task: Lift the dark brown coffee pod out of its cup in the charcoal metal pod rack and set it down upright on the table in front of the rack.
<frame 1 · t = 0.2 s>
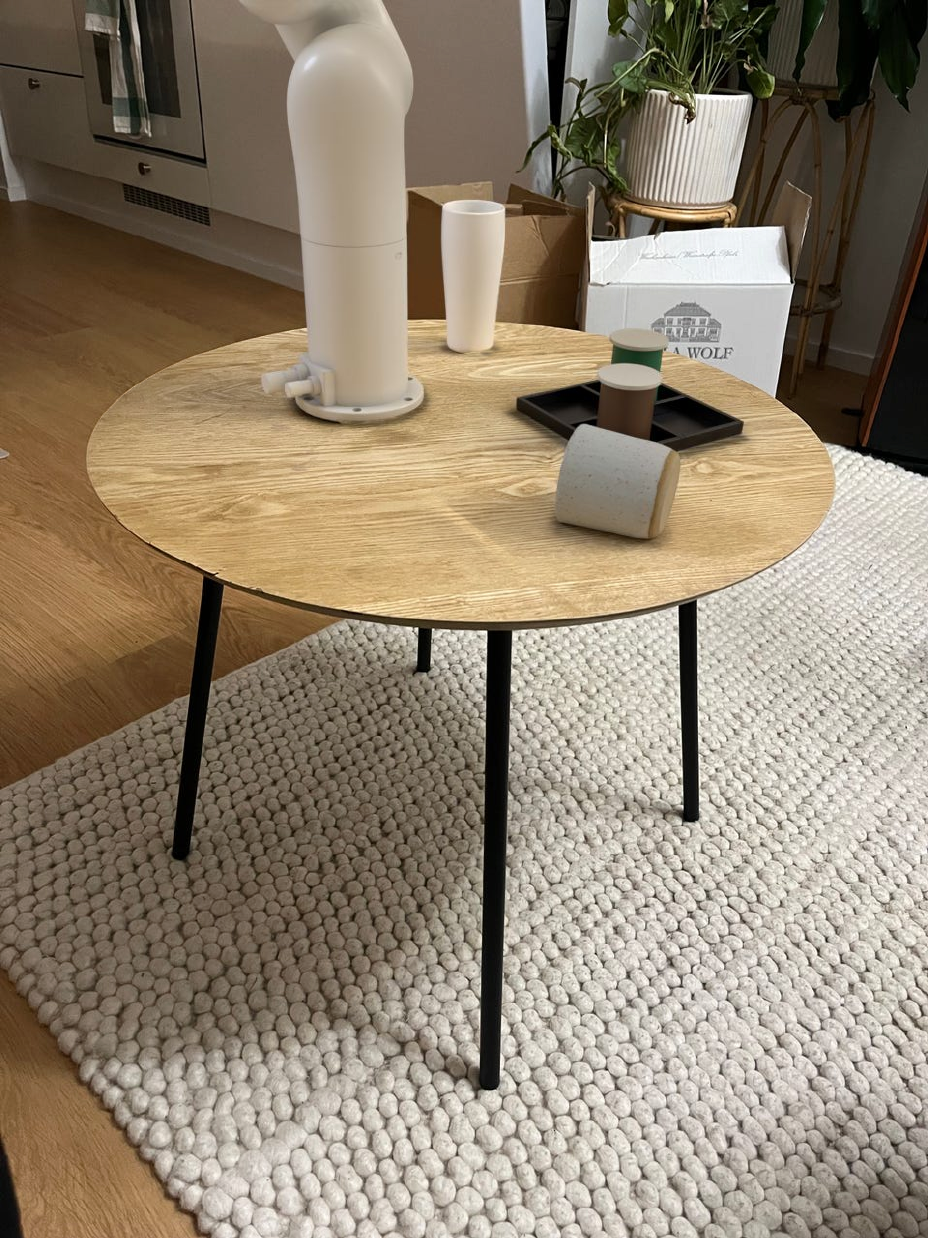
pod: (621, 442, 90), resting on rack
ceramic mug: (613, 521, 79), on the table
drinking glass: (470, 349, 112), on the table
rack: (626, 426, 94), on the table
pod 2: (631, 401, 98), resting on rack
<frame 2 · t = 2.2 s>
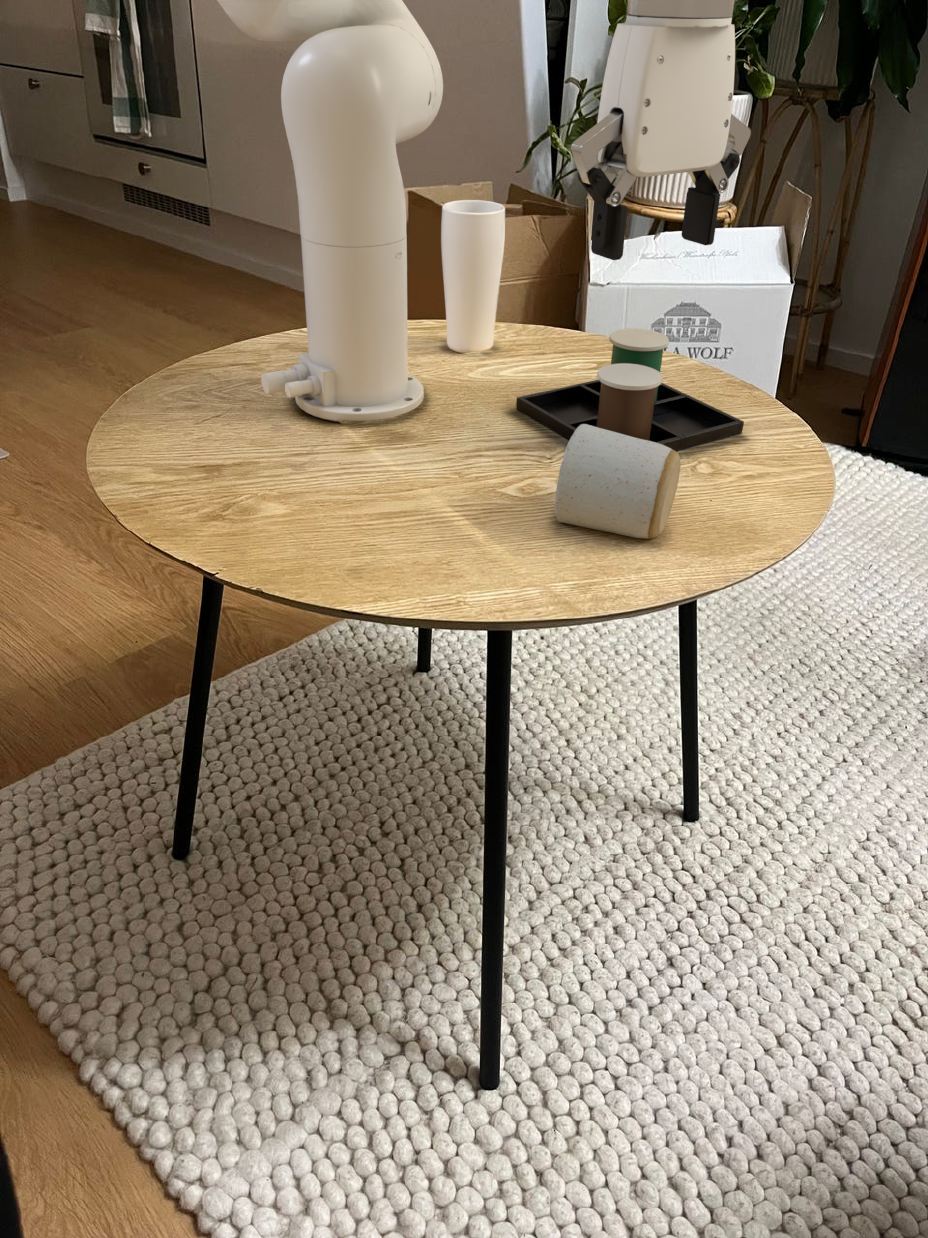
hand: (652, 248, 81), 17 cm above the table, tool pointing down, fingers open, 9 cm apart
nothing on the table moved.
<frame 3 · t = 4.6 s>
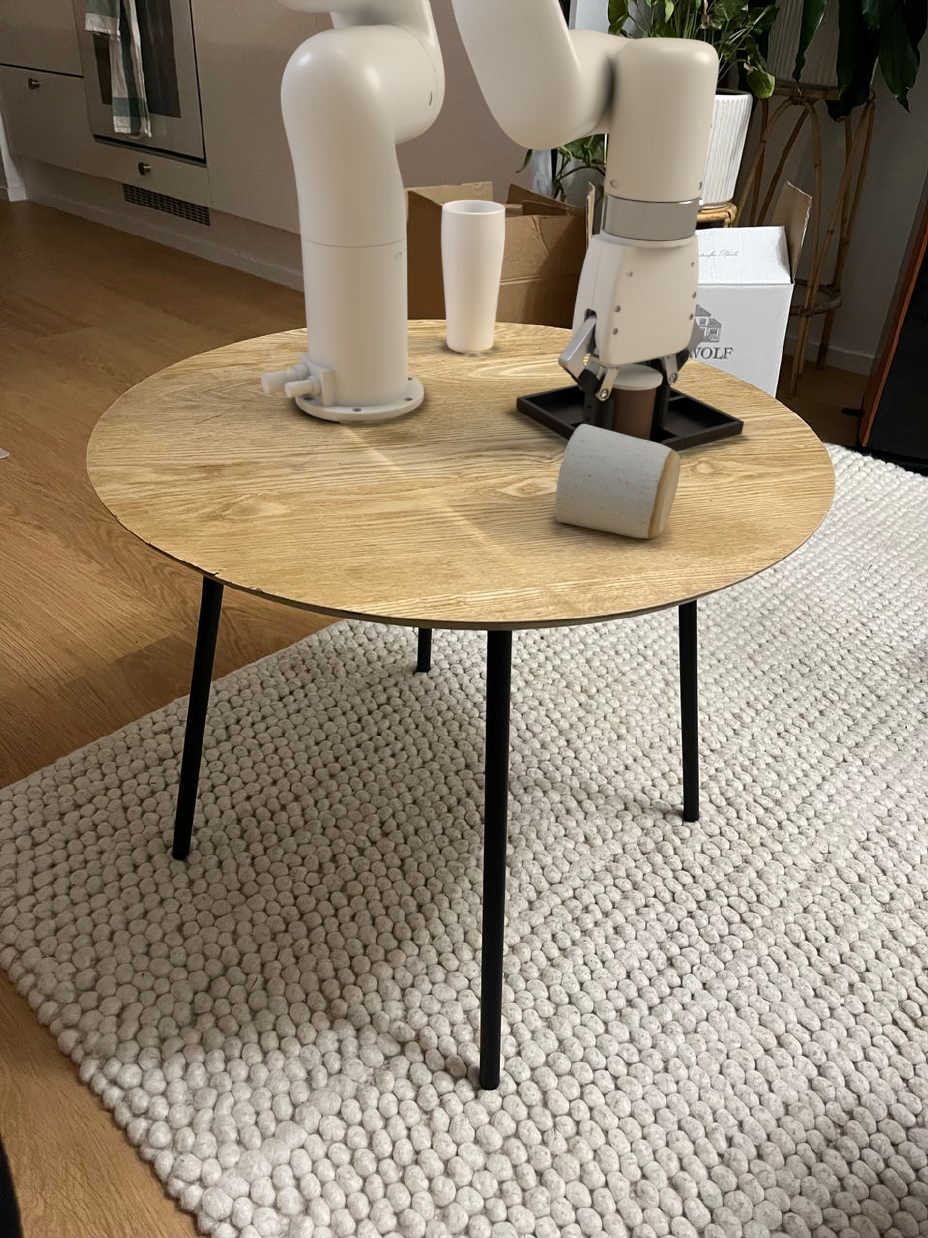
hand: (623, 428, 89), 2 cm above the table, tool pointing down, fingers closed on rack, 5 cm apart
nothing on the table moved.
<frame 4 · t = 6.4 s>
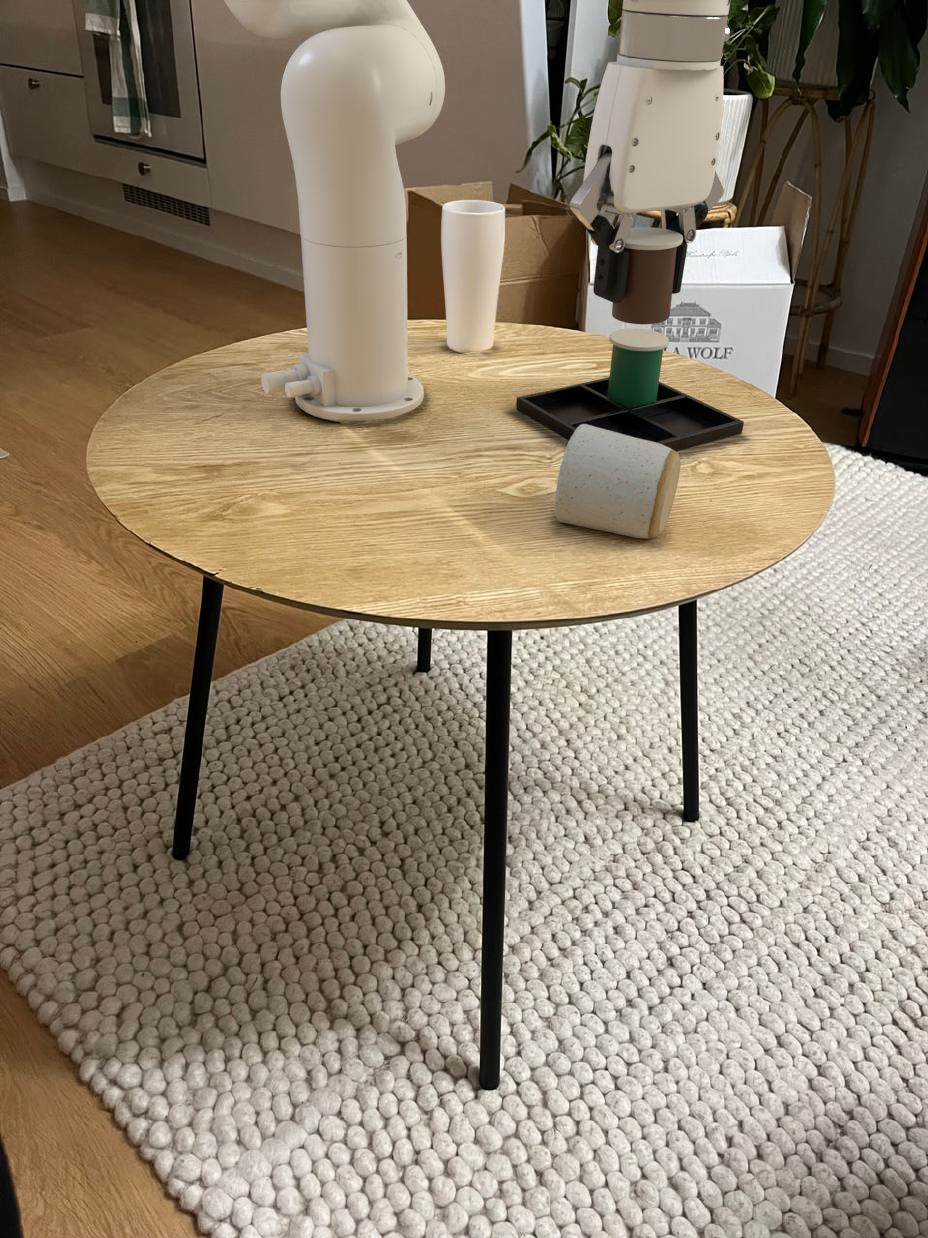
hand: (636, 291, 83), 14 cm above the table, tool pointing down, fingers closed on pod, 5 cm apart
pod: (640, 315, 83), point 12 cm above the table, touching gripper
everything else where it was.
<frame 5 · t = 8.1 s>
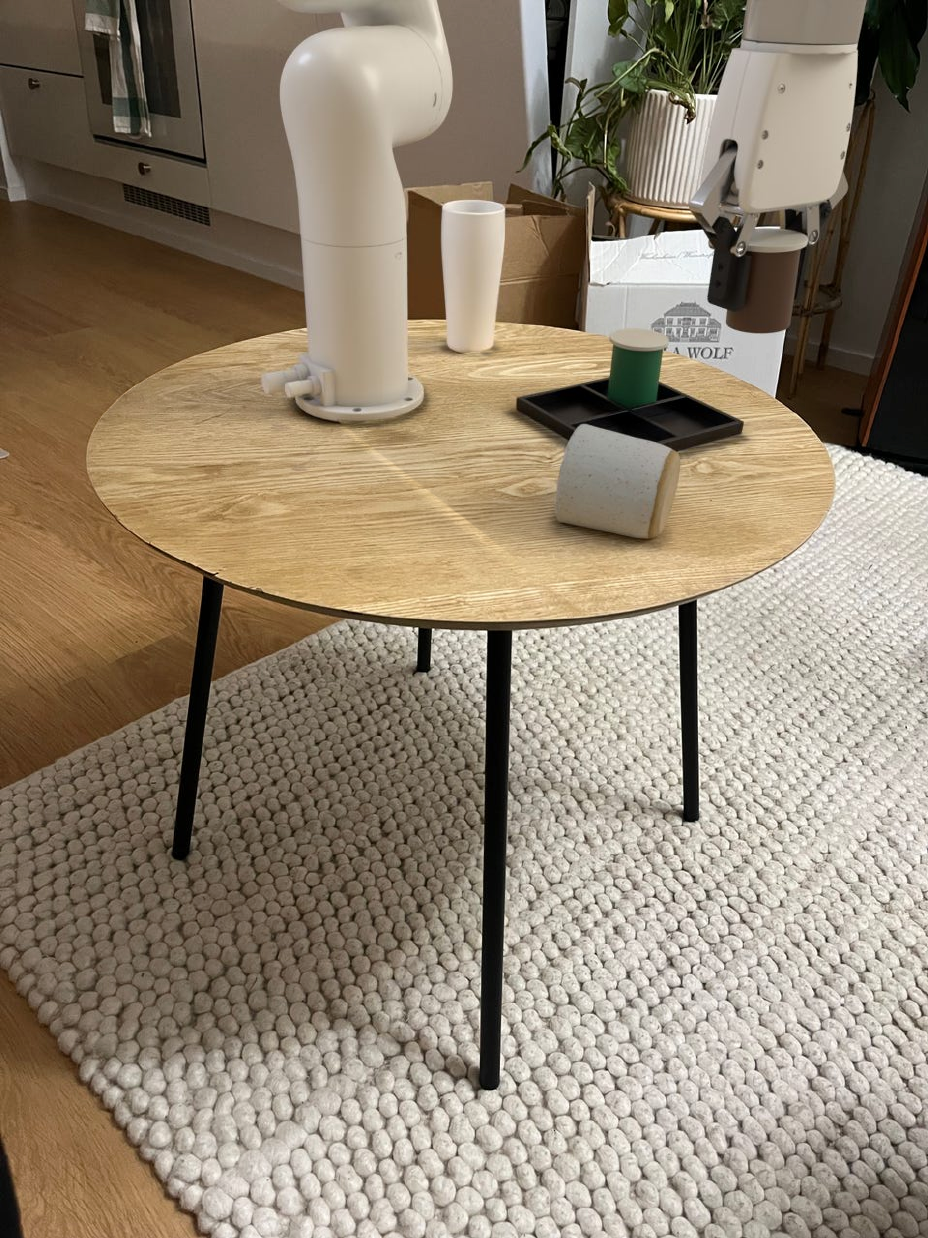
hand: (754, 298, 76), 16 cm above the table, tool pointing down, fingers closed on pod, 5 cm apart
pod: (757, 323, 77), point 14 cm above the table, touching gripper
everything else where it was.
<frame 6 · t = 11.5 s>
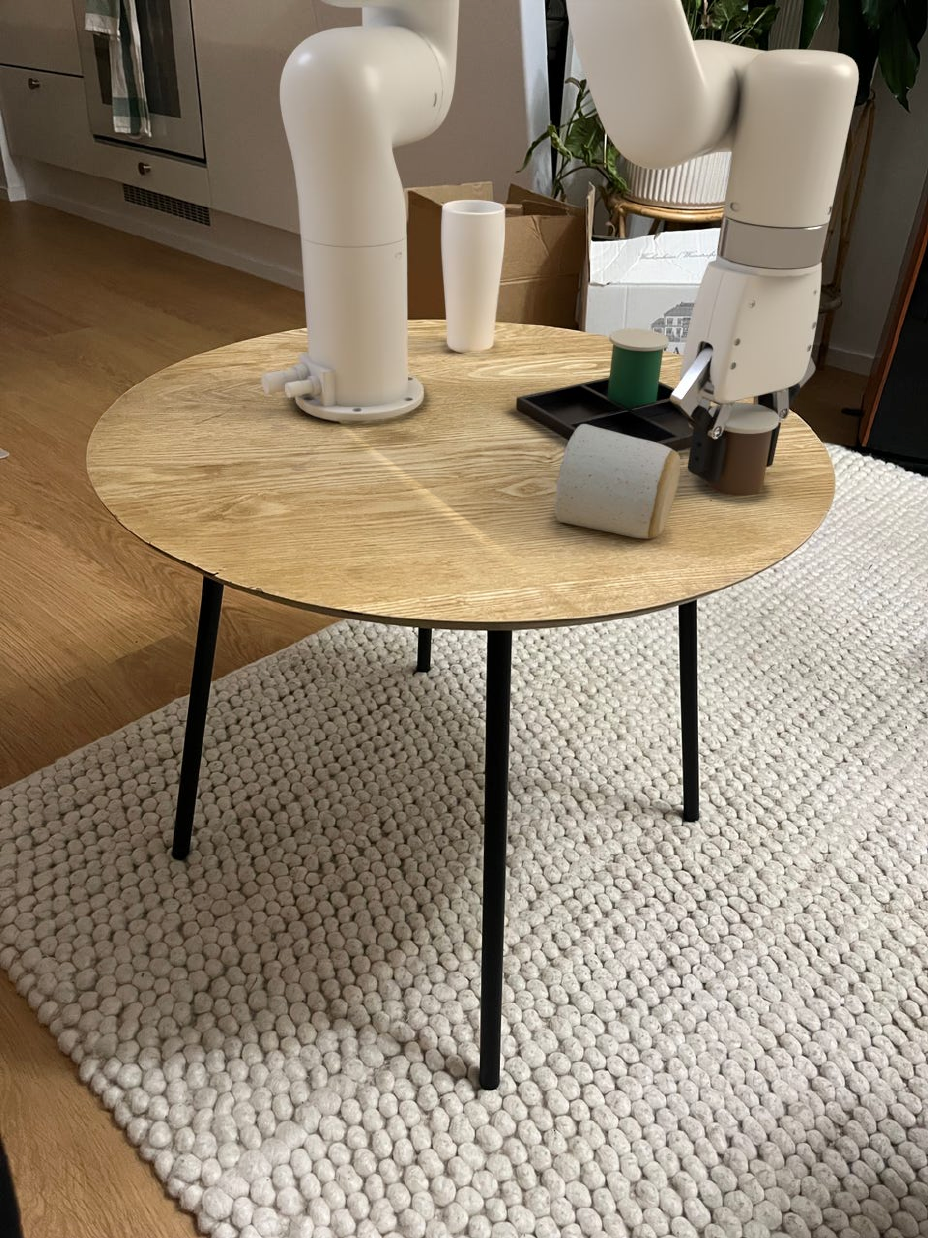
hand: (730, 466, 83), 2 cm above the table, tool pointing down, fingers closed on pod, 5 cm apart
pod: (732, 486, 84), on the table, touching gripper
everything else where it was.
when the fingers open (2 cm above the table, at t = 11.5 s): pod stays where it is, on the table.
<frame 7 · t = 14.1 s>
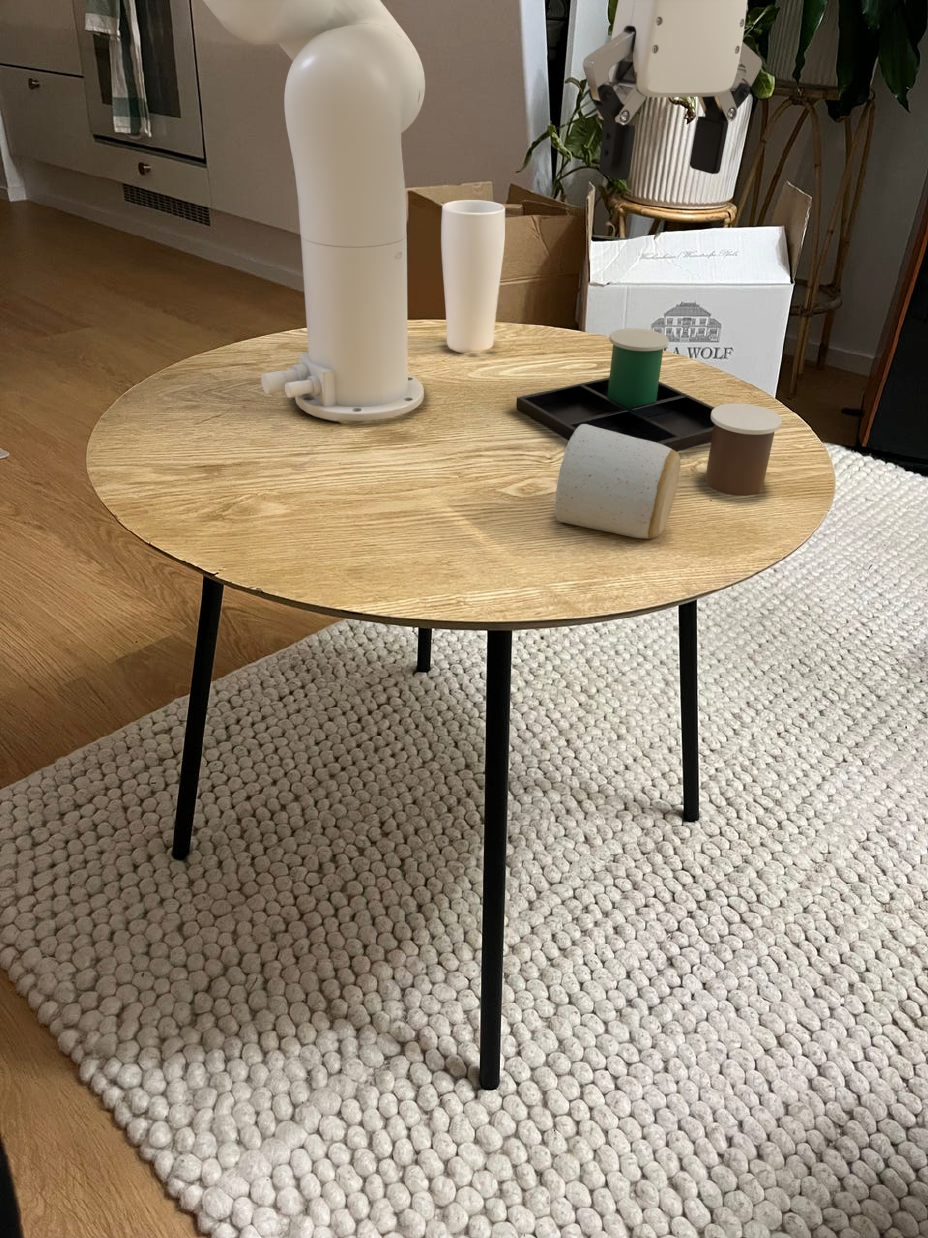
hand: (659, 173, 83), 22 cm above the table, tool pointing down, fingers open, 9 cm apart
pod: (732, 487, 84), on the table
everything else where it was.
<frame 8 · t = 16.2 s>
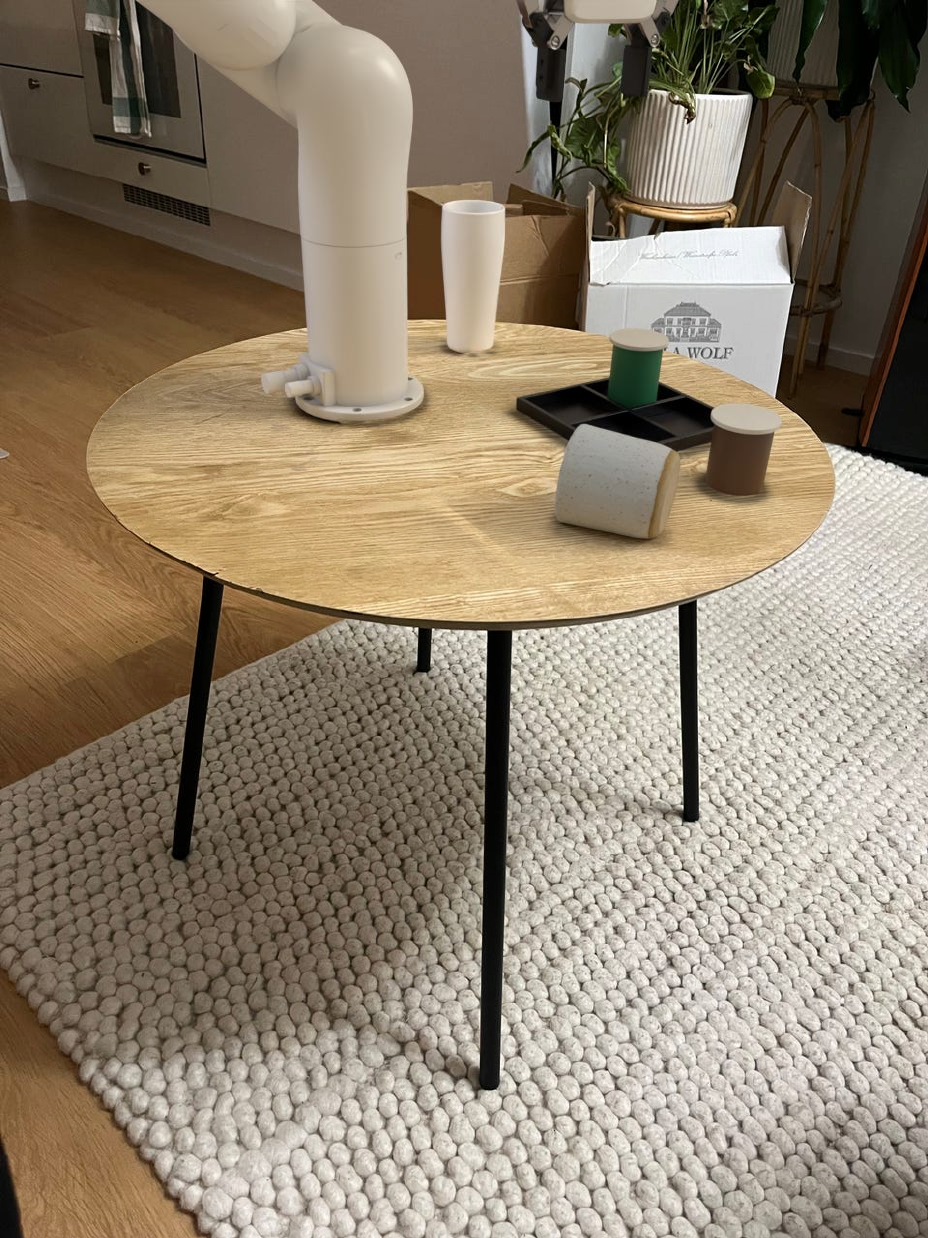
hand: (592, 97, 90), 26 cm above the table, tool pointing down, fingers open, 9 cm apart
nothing on the table moved.
at the end: pod inside the target area (0.7 cm from its centre), on the table; pod tilted 0°; pod touching table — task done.
